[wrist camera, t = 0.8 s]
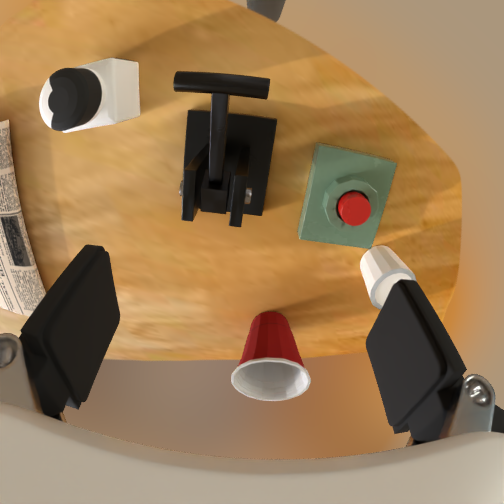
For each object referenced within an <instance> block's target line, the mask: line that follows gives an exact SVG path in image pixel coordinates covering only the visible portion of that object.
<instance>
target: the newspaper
mask: <svg viewBox="0 0 504 504" xmlns="http://www.w3.org/2000/svg"><path fill="white" fill-rule="evenodd" d="M45 295H46V292H45V289H44V286H43V283H42V281H41V278H40V275H39V272H38V269H37V266H36V263H35V259H34V256H33V253H32V249H31V246H30V242H29V239H28V235H27V231H26V227H25V223H24V219H23V215H22V210H21V206H20V201H19V196H18V191H17V185H16V179H15V173H14V166H13V159H12V151H11V141H10V130H9V120H6V121H2V122H0V306H1V308H3V309H6V310H9V311H12V312H14V313H17V314H21V315H26V316H31V314H32V313H33V311H34V310H35V309H36V307H37V306H38V304H39V303H40V302H41V300H42V299H43V298H44V296H45Z"/></svg>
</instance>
